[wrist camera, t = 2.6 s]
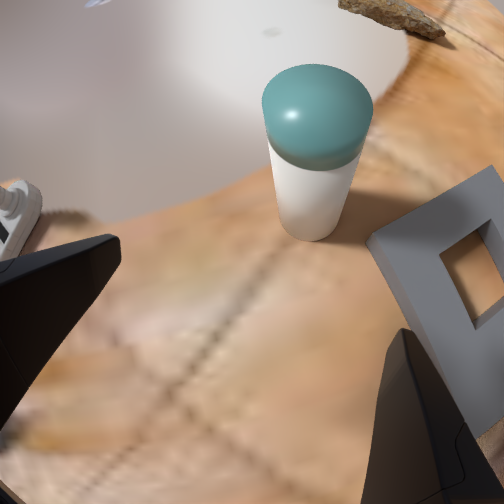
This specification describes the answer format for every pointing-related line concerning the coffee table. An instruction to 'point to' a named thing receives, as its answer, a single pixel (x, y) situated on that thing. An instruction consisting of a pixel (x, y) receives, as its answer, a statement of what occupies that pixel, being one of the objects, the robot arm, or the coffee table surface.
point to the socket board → (451, 291)
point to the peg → (314, 144)
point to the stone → (394, 15)
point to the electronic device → (17, 216)
